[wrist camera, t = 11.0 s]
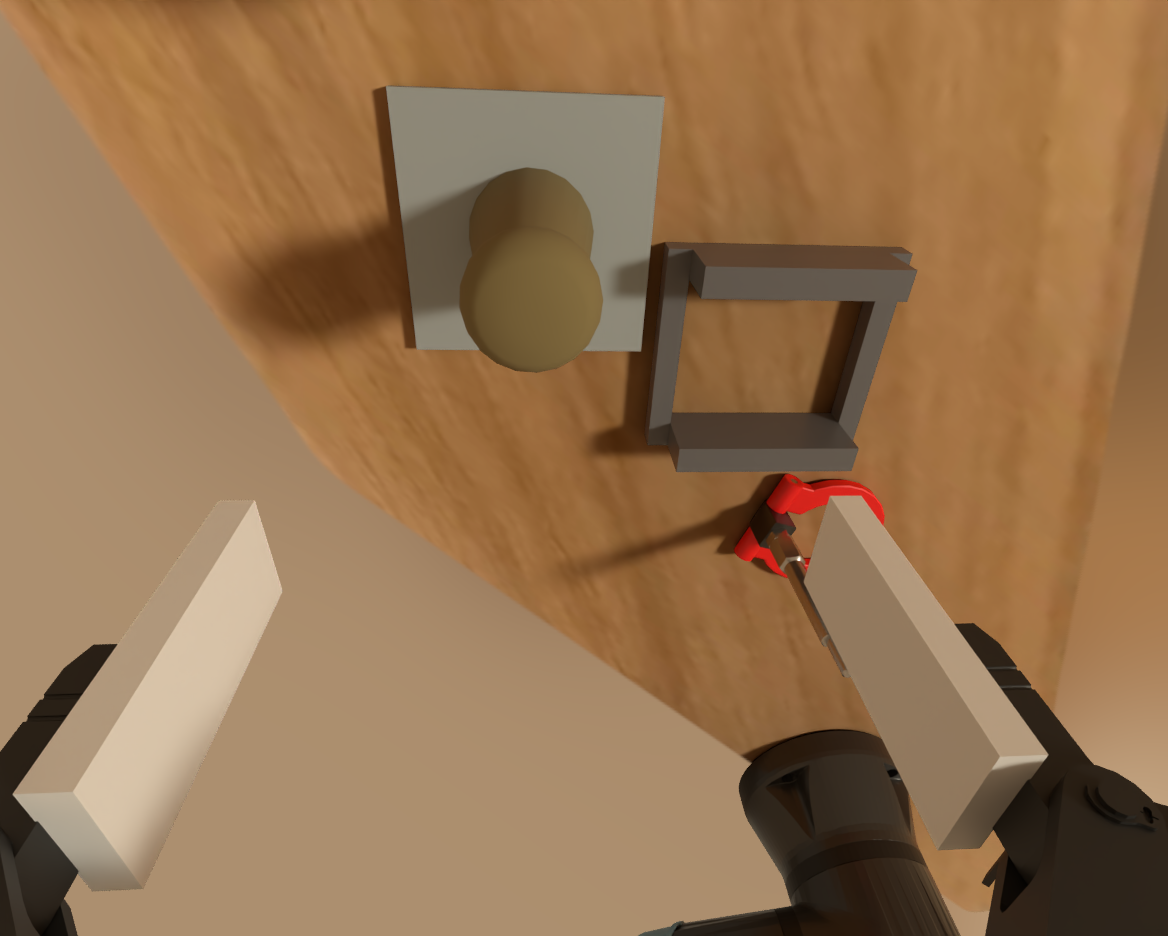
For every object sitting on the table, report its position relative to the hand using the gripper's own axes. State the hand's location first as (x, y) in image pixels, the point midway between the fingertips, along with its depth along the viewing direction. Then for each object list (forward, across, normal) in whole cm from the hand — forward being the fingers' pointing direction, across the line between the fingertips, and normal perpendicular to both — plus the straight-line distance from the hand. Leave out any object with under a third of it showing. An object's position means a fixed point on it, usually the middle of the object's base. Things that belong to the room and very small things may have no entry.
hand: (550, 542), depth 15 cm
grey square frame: (+21, -12, +4) cm, 25 cm away
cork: (+21, +1, -2) cm, 21 cm away
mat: (+21, +1, -2) cm, 21 cm away
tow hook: (+22, -18, +17) cm, 33 cm away
